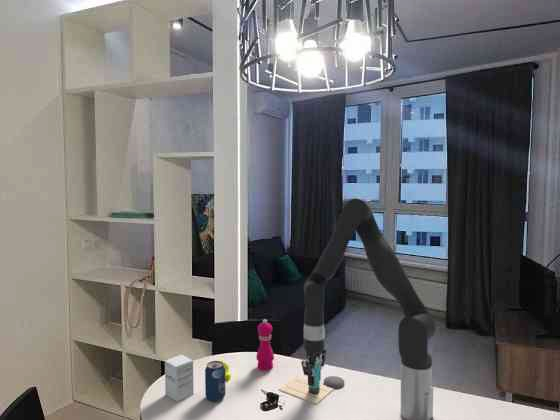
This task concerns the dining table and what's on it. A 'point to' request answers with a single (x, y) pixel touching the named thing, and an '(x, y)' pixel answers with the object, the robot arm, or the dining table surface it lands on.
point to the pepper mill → (265, 347)
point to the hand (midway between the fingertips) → (314, 382)
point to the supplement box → (179, 377)
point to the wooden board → (305, 390)
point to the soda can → (215, 381)
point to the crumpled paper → (226, 371)
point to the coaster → (334, 382)
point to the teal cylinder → (316, 379)
